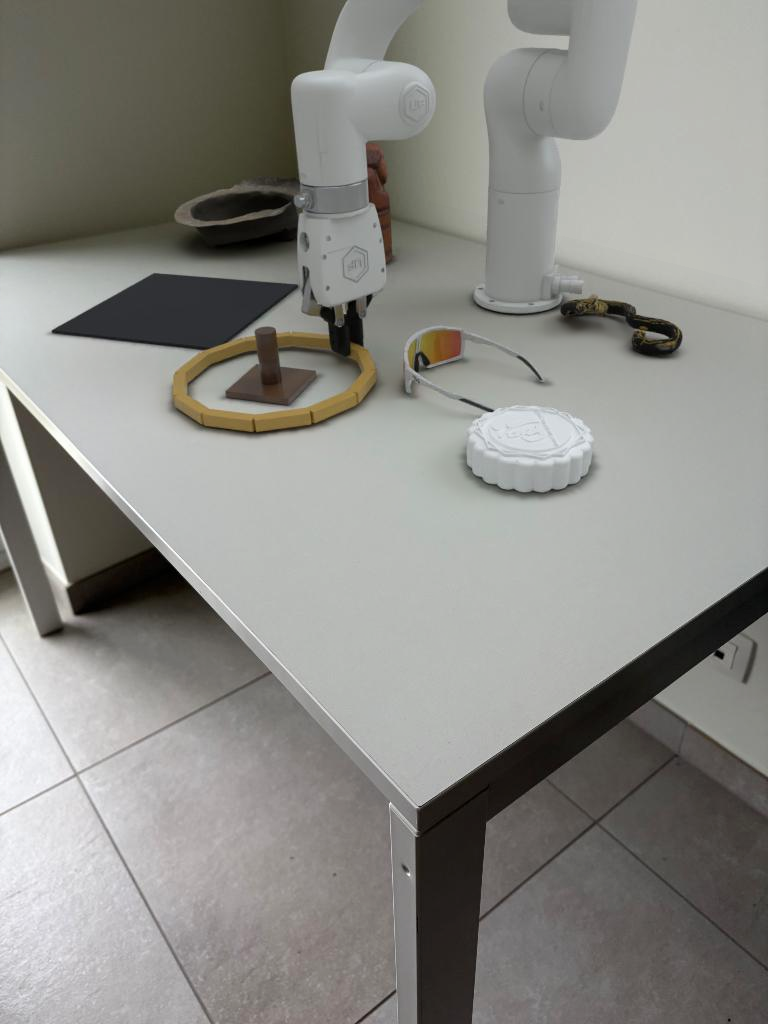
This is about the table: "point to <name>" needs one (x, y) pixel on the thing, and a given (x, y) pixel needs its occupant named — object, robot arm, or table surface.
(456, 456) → the table surface
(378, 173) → the wooden figurine
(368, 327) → the table surface
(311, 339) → the ring
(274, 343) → the wooden peg stand
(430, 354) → the sunglasses
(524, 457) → the mooncake
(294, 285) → the mat
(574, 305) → the rubber snake
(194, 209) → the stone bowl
